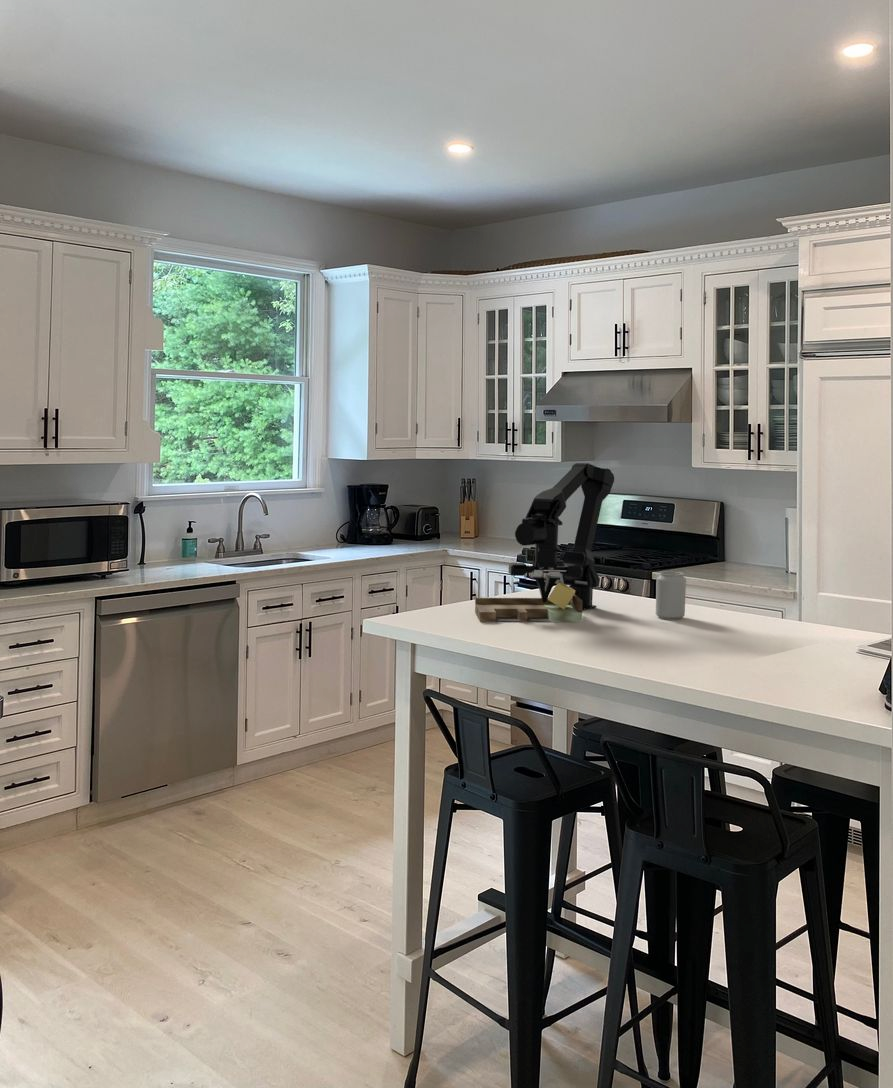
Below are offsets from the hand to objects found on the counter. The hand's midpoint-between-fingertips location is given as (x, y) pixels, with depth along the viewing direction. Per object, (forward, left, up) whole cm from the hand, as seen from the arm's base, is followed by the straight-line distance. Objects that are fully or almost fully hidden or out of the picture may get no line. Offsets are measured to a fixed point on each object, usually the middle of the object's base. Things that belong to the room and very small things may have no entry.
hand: (544, 602), depth 256 cm
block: (-1, +3, 0) cm, 3 cm away
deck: (+5, -1, -4) cm, 6 cm away
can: (-25, +21, -4) cm, 33 cm away
